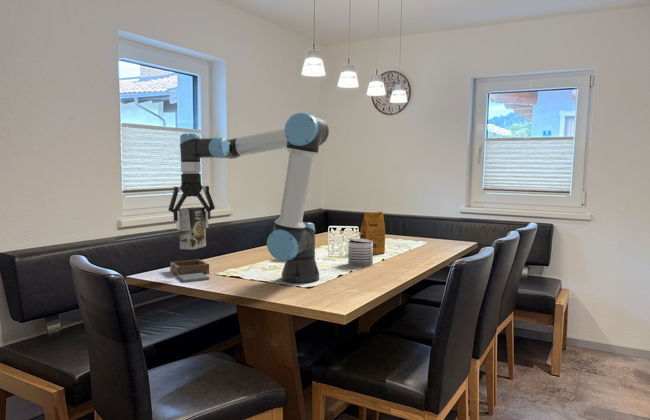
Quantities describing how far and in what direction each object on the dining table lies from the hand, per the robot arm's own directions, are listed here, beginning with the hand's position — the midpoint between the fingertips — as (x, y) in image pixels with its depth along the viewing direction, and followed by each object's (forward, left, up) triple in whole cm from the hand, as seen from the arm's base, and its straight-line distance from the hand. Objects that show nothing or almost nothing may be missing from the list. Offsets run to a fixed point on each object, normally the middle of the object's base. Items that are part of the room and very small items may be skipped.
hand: (192, 228), depth 194 cm
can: (-10, -75, -21) cm, 78 cm away
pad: (0, 0, -20) cm, 20 cm away
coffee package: (+12, -98, -21) cm, 101 cm away
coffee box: (0, 0, -8) cm, 8 cm away
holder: (+13, -2, -20) cm, 24 cm away
